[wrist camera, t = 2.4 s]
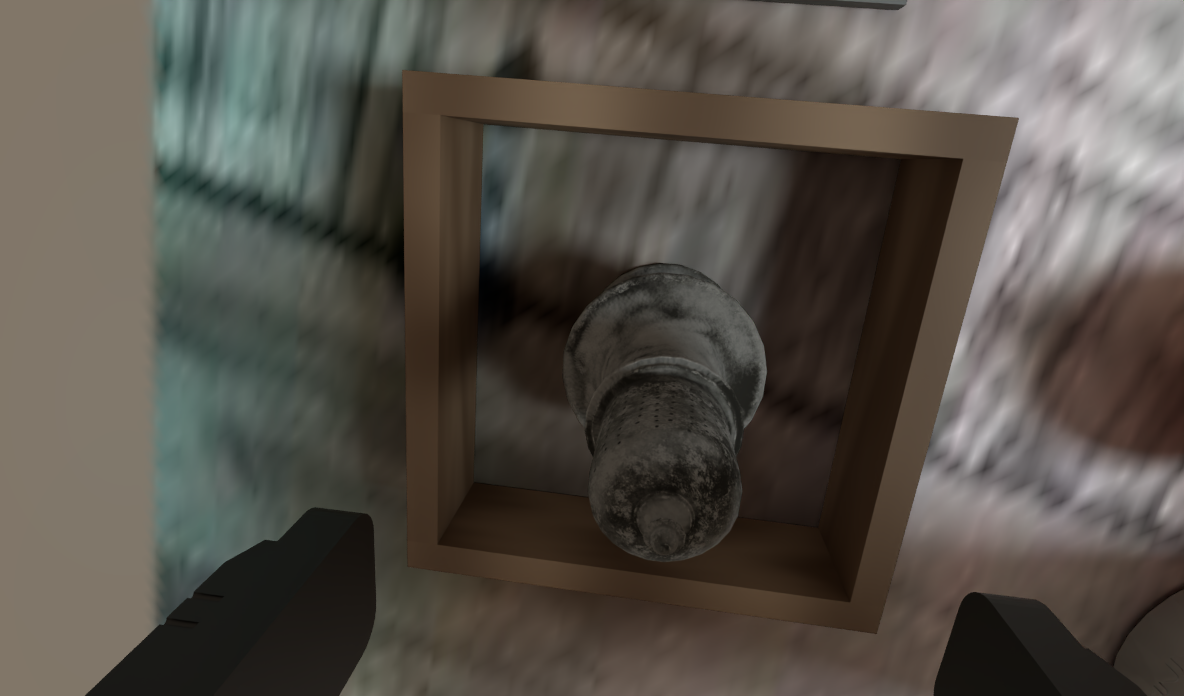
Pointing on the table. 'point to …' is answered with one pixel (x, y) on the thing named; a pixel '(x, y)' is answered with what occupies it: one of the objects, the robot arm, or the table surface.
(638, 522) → the stone chess piece
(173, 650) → the robot arm
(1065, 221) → the table surface
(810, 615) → the walnut crate
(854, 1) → the mat
